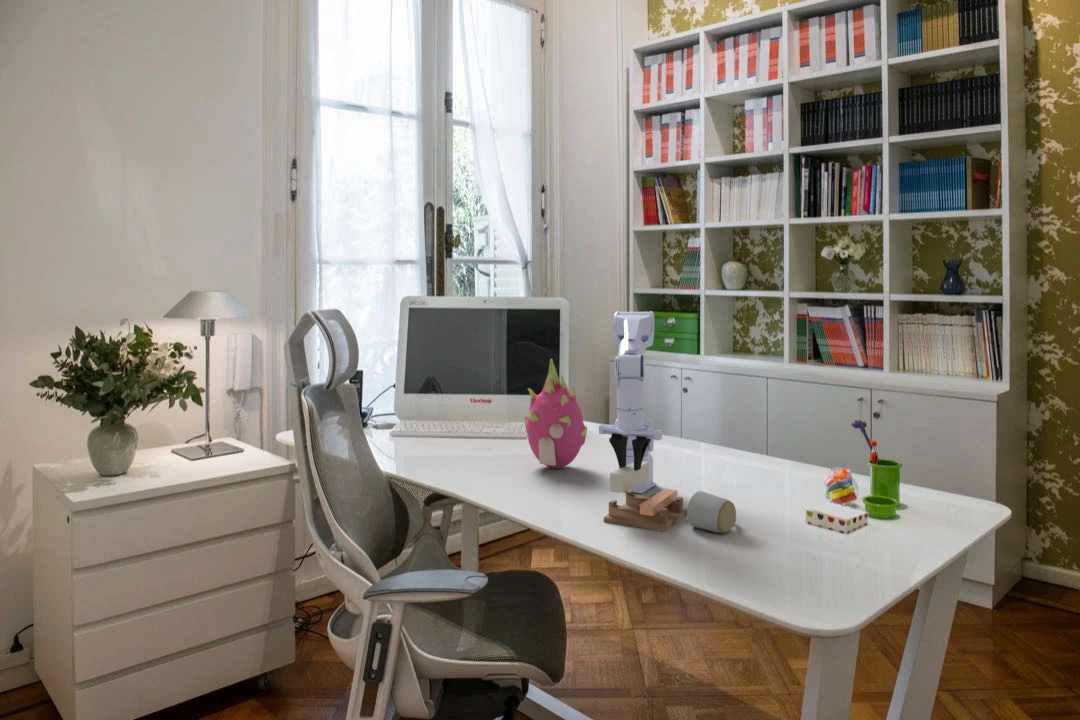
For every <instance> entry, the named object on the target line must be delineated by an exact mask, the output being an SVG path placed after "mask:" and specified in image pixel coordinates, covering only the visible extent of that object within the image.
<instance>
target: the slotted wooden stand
mask: <svg viewBox="0 0 1080 720" xmlns="http://www.w3.org/2000/svg"><path fill="white" fill-rule="evenodd" d="M634 493H635V492H634V490H629V491H625V503H624V504H623V505H619V504H617V503H618V500H617V499H615V500H614V499H611V500H610V501H608V514H606V515H605V516H603V522H604V523H611V524H617V525H623V526H628V527H633V528H634V527H635V528H640V529H645V528H646V529H645V530H651V529H653V530H652V531H657V530H660V531H659V532H663V531H664V532H666V531H667V530H668V529H669V528H671V527H672V526H673V525H675V524H676V523H677V522H678V521H680V520H681V519H682V518H684V517H685V516H687V508H684V497H683V496H681V497H680V496H677V499H676V500H675V501H674V502H672V503H671V504H669V505H668V506H666V507H665V508H662V509H661V510H660V511H659V512H658V513H656V514H655V515H654V516H649V515H643V514H640V504H642V503H643V502H645V501H646V500H648V499H649V498H651V497H653V496H654V495H656V494H657V493H652V494H651V495H650V496H644V495H639V494H634ZM684 515H685V516H684ZM683 516H684V517H683ZM680 518H681V519H680ZM679 519H680V520H679ZM676 521H677V522H676ZM675 522H676V523H675ZM674 523H675V524H674ZM671 525H672V526H671ZM670 526H671V527H670ZM667 528H668V529H667ZM666 529H667V530H666Z"/></svg>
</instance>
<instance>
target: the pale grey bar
mask: <svg viewBox="0 0 1080 720" xmlns="http://www.w3.org/2000/svg"><path fill="white" fill-rule="evenodd" d="M648 479H649V462H644V461H642V464H641V469H639V470H638V471H635V470H634V462H633V463H631V464H629V465H626V466H624V467H622V468H620V469H619V468H618V469H616V470H614V471H612V472H609V491H610V492H613V493H622V494H623V493H626V492H627V490H629V489H631V488H633V487H635V486H637V485H639V484H641V483H643V482H644V481H646V480H648Z"/></svg>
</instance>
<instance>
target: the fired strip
mask: <svg viewBox="0 0 1080 720" xmlns="http://www.w3.org/2000/svg"><path fill="white" fill-rule="evenodd" d="M655 494H656V495H654V496H653V497H651V498H649V499H648V500H646V501H645V502H643V503H642V504H640V514H643V515H649V516H654V515H655V514H656V513H658V512H659V511H660V510H661V509H662V508H665V507H666V506H668V505H669V504H671V503H672V502H674V501H676V499H677V498H678V490H677V489H670V488H663V489H662V490H660V491H659V492H657V493H655Z"/></svg>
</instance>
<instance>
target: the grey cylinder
mask: <svg viewBox="0 0 1080 720" xmlns="http://www.w3.org/2000/svg"><path fill="white" fill-rule="evenodd" d="M686 509H687V514H686V519H687V522H688V524H689V525H690V526H691V527H694V528H698V529H700V530H704V531H705V530H706V531H708V532H713V533H717V534H726V533H728V532H730V531H731V529H732V528H733V527H734V525H735V524H736V521H737V516H736V515H737V510H736V506H735V504H734V503H733V501H731V500H729V499H727V498H725V497H721V496H717V495H715V494H712V493H708V492H705V491H704V490H703V491H701V490H699V491H695V493H693V495H691V497H690V499H689V501H688V504H687V508H686Z"/></svg>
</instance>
